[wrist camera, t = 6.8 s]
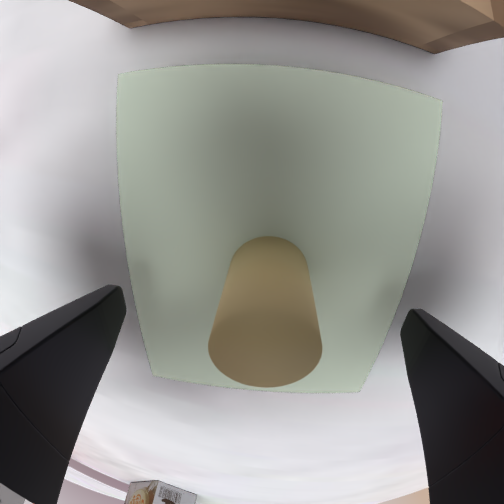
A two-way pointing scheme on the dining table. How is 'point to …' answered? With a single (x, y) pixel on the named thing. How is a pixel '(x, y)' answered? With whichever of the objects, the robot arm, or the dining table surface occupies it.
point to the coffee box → (157, 494)
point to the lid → (270, 219)
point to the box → (334, 16)
